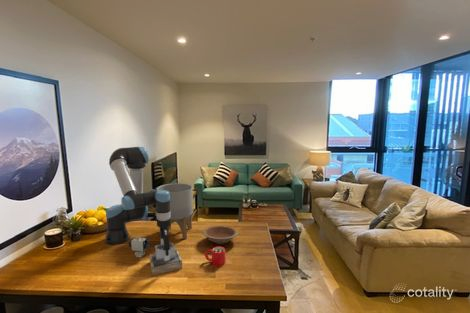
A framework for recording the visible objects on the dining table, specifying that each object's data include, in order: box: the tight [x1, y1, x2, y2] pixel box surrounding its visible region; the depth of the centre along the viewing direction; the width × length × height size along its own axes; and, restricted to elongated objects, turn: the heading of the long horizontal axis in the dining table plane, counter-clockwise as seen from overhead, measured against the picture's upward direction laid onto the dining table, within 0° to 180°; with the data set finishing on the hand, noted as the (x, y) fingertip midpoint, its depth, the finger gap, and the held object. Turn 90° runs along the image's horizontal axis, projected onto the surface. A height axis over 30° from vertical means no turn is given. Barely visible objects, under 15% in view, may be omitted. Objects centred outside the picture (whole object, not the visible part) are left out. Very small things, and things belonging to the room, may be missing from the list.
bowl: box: [202, 224, 239, 245], centre depth 176 cm, size 24×24×8 cm
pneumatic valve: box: [128, 236, 151, 258], centre depth 158 cm, size 6×12×12 cm, turn 78°
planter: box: [156, 182, 194, 240], centre depth 187 cm, size 25×25×34 cm
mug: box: [204, 246, 226, 267], centre depth 151 cm, size 8×12×8 cm, turn 86°
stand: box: [149, 248, 183, 276], centre depth 148 cm, size 14×16×5 cm
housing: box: [154, 242, 176, 262], centre depth 148 cm, size 10×6×7 cm, turn 113°
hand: (165, 254), depth 148 cm, fingers open, 13 cm apart
